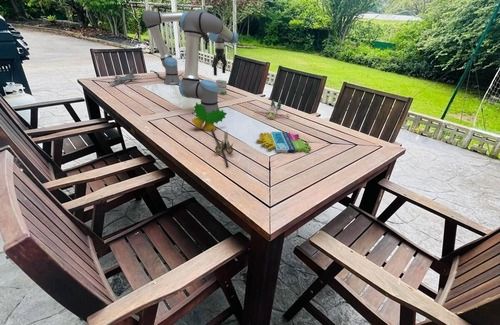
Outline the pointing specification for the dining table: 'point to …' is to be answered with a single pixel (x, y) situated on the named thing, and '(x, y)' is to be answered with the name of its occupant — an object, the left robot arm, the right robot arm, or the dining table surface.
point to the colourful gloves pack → (283, 142)
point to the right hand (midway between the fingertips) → (219, 74)
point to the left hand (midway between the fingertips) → (202, 50)
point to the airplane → (124, 78)
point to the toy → (272, 110)
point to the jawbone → (224, 145)
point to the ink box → (221, 86)
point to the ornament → (207, 117)
